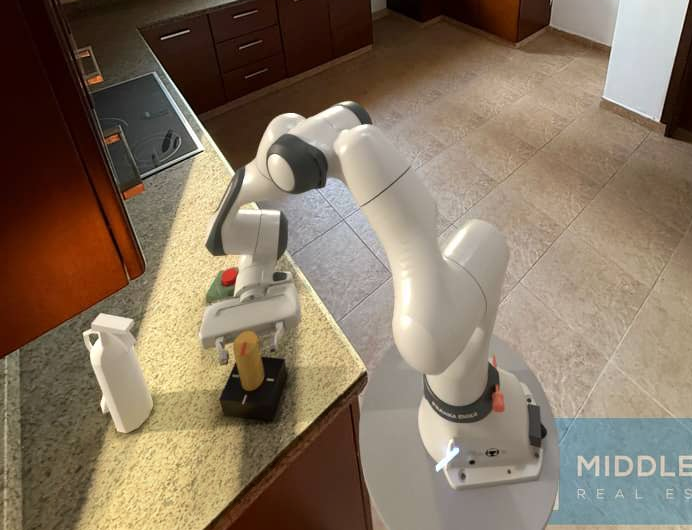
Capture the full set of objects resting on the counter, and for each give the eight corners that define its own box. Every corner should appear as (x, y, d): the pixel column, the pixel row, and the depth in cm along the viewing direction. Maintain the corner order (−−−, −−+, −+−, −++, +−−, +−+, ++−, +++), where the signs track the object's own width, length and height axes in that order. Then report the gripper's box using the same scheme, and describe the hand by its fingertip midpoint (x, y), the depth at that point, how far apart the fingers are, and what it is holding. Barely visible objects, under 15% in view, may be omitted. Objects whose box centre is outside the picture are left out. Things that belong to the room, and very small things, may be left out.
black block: (288, 373, 90) (285, 356, 88) (271, 424, 82) (268, 406, 80) (243, 368, 91) (239, 351, 89) (222, 418, 83) (218, 400, 81)
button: (240, 273, 108) (239, 268, 108) (233, 287, 105) (232, 281, 105) (227, 272, 109) (226, 267, 108) (220, 286, 106) (218, 280, 105)
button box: (257, 279, 111) (255, 267, 110) (245, 305, 104) (242, 293, 103) (221, 276, 112) (218, 264, 111) (206, 302, 105) (203, 290, 104)
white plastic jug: (118, 386, 89) (84, 298, 81) (169, 396, 87) (140, 306, 79) (90, 426, 83) (51, 334, 75) (145, 438, 80) (111, 345, 73)
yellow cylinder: (244, 367, 87) (236, 331, 83) (266, 364, 87) (259, 328, 84) (238, 392, 83) (229, 355, 79) (261, 389, 83) (253, 352, 80)
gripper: (203, 292, 93) (188, 360, 80) (298, 270, 97) (299, 331, 85) (208, 313, 95) (194, 382, 82) (301, 290, 99) (302, 353, 87)
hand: (248, 356), depth 84 cm, fingers open, 8 cm apart
